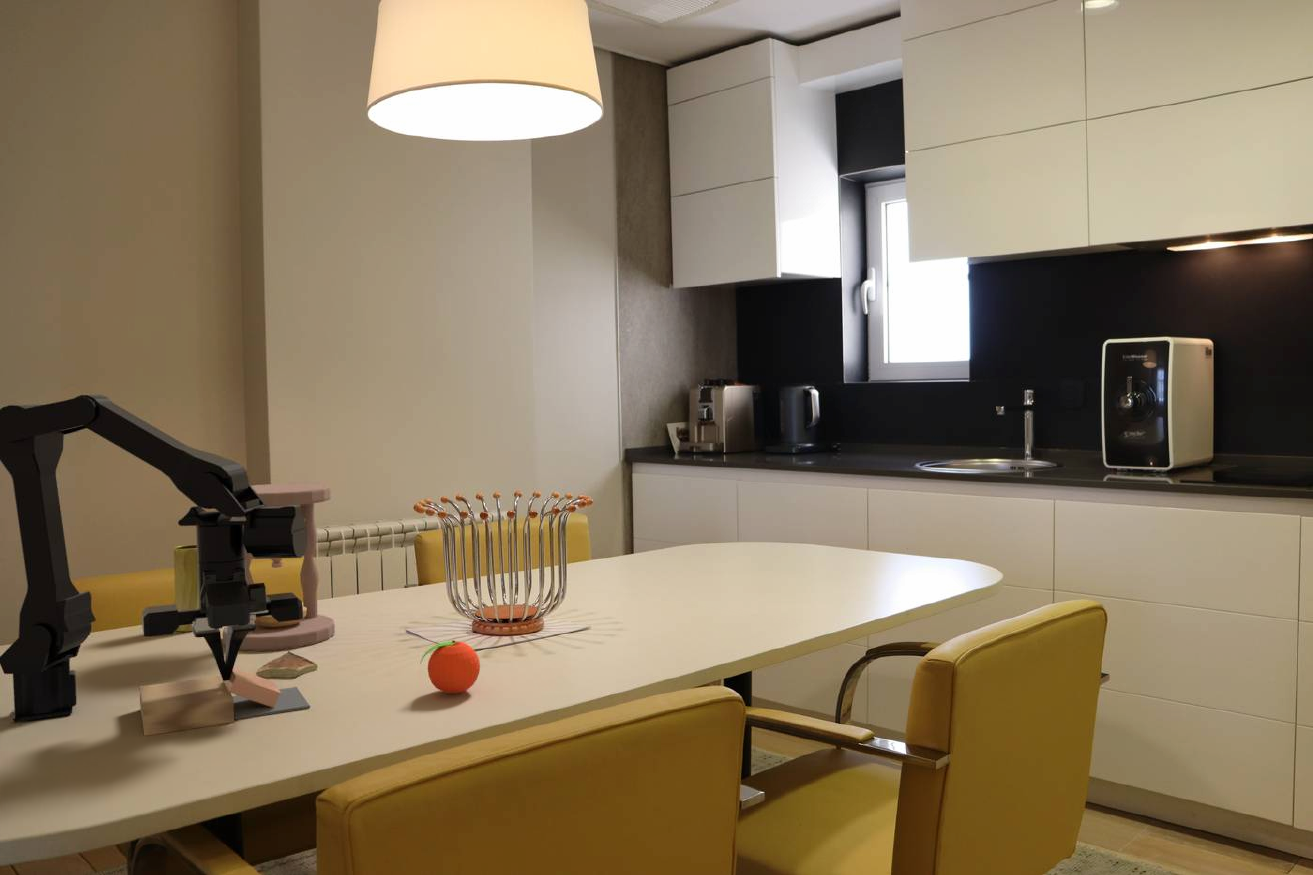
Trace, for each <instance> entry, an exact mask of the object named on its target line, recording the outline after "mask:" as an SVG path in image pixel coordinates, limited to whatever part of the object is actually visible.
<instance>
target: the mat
mask: <svg viewBox="0 0 1313 875" xmlns="http://www.w3.org/2000/svg"><path fill="white" fill-rule="evenodd" d="M278 689H279V691H280V692H281V694H280V696H279V698H278V700H277V702H276V704H275V706H274V708H273V707H270V706H267V705H264V704H261V703H258V702H255V701H252V700H249V699H247V698H244V697H241V696H238V695H232V697H233V707H234V720H241V719H246V718H247V719H248V718H254V717H261V716H268V715H273V714H279V713H287V712H294V711H299V710H306V709H310V708H311V705H310V703H309V702H308V701H307V699H306V698H305V696H304V695H303V694H302V692H301V691H300V690H299V688H298V687H297V686H294V687H288V688H278Z"/></svg>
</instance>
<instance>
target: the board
mask: <svg viewBox="0 0 1313 875" xmlns="http://www.w3.org/2000/svg"><path fill="white" fill-rule="evenodd" d="M232 696H233V694H232V693H229V692H228V690H227V687H226V685H225V683H224V681H223V679H222V677H221V675H217V676H209V677H201V678H193V679H186V680H179V681H178V680H177V681H171V682H164V683H155V684H150V685H143V686H142V685H141V686H139V707H140V716H141V722H142V728H143V735H144V737H146V736H151V735H159V734H165V733H172V732H177V731H184V730H190V729H197V728H204V727H209V726H216V725H223V724H230V723H234V722H235V718H234V707H233V697H232Z"/></svg>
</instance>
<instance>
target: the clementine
mask: <svg viewBox="0 0 1313 875" xmlns="http://www.w3.org/2000/svg"><path fill="white" fill-rule="evenodd" d="M434 649H435V650H434ZM433 650H434V651H433ZM431 651H433V652H432V654H431V655H430V657H429V659H428V662H427V673H428V678H429V680H430V682H431V684H432V685H433V686H434V687H435V688H436V689H438V690H439V691H441V692H442V693H445V694H449V695H450V694H452V695H457V694H461V693H464V692H466V691H467V690H469V689H470V688H472V686H473V685H474V684H475V683H476V681H477V680H478V677H479V674H480V672H481V671H480V670H481V664H480V659H479V656H478V653H477V652H476V651H475V649H474V648H473V647H472V646H470V645H469V644H467V643H465V642H463V641H457V640H452V641H447V642H442V643H437V644H436V645H433V646H432V647H431V648H429V649H428V650H427V651H426V652H425V653H424V655H422V657H421V660H420V664H419V665H421V663H422V662H423V659H424V658H425V657H426V656H427V654H428V653H430V652H431Z"/></svg>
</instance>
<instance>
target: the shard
mask: <svg viewBox="0 0 1313 875" xmlns="http://www.w3.org/2000/svg"><path fill="white" fill-rule="evenodd" d="M317 670H318V664H317V663H315V662H313V661H311V660H309V659H307V658H306V657H303V656H300V655H298V654H295V653H293V652H291V651H287V652H286V653H284V654H283V655H281V656H278V657H276V658H275V659H272V660H271V661H268V662H267V663H265V664H264V665H262V666H261V667H259V668H258V669H257V670H256V674H255V675H256V676H259V677H261V678H296V677H297V676H300V675H303V674H307V673H310V672H314V671H317Z"/></svg>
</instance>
